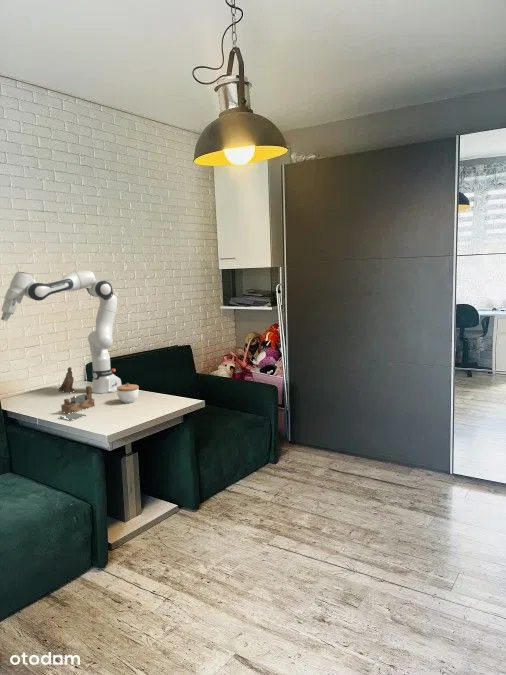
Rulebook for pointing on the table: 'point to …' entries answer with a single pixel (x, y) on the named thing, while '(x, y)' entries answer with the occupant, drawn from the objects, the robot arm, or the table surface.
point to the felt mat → (73, 416)
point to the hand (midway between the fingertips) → (3, 320)
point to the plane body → (73, 407)
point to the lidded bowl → (128, 392)
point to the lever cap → (77, 399)
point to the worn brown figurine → (67, 382)
